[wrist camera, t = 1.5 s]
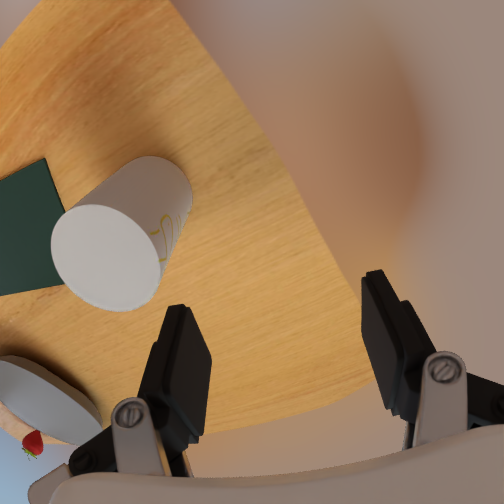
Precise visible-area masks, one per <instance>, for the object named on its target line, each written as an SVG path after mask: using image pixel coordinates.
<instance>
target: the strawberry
mask: <svg viewBox="0 0 504 504" xmlns="http://www.w3.org/2000/svg"><path fill="white" fill-rule="evenodd" d="M22 445H23V447H24V448H25V449H26V450H25V449H24V448H22V449H23V450H24V451H26V453H28V454H30V455H31V456H33V457H35V456H36V455H39V454H41V453H42V451H43V441H42V438H41V435H40V431H39V430H35V431H33V432H31V433H29V434H28V435H26V436H25V438H24V439H23V441H22ZM34 455H35V456H34ZM35 458H36V457H35ZM36 459H37V458H36Z"/></svg>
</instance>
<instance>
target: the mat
mask: <svg viewBox="0 0 504 504" xmlns="http://www.w3.org/2000/svg"><path fill="white" fill-rule="evenodd" d="M64 214H65V210H64V208H63V205H62V203H61V200H60V198H59V195H58V193H57V190H56V187H55V185H54V182H53V179H52V177H51V174H50V171H49V168H48V165H47V162H46V159H45V158H44V159H42V160H39V161H37V162H35V163H33V164H31V165H29V166H27V167H25V168H23V169H22V170H20V171H18V172H16V173H14V174H12V175H10V176H8V177H7V178H5V179H3V180H1V181H0V296H3V295H8V294H14V293H19V292H24V291H30V290H35V289H40V288H46V287H51V286H56V285H62V284H65V283H64V281H63V280H62V278H61V277H60V275H59V273H58V271H57V269H56V267H55V264H54V261H53V258H52V253H51V237H52V233H53V230H54V227H55V225H56V223H57V222H58V220H59V219H60V218H61V216H62V215H64Z"/></svg>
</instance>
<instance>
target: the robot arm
mask: <svg viewBox="0 0 504 504" xmlns="http://www.w3.org/2000/svg"><path fill="white" fill-rule="evenodd" d="M361 284H362V320H361V332H362V338H363V341H364V344H365V347H366V350H367V353H368V356H369V359H370V362H371V365H372V368H373V371H374V374H375V377H376V380H377V383H378V387H379V390H380V393H381V396H382V399H383V403H384V406H385V408H386V409H391V412H392V415H393V416H396V415H400V418H401V419H403V420H405V421H406V429H405V435H404V441H403V447H402V451H400V452H397V453H393V454H389V455H386V456H381V457H378V458H374V459H369V460H365V461H361V462H356V463H352V464H346V465H341V466H336V467H330V468H324V469H319V470H312V471H304V472H298V473H289V474H279V475H268V476H254V477H236V478H234V477H233V478H194V475H193V473H192V470H191V467H190V464H189V461H188V458H187V455H186V452H185V449H187V448H188V444H196V443H198V441H199V436H202V435H203V433H204V426H205V417H206V408H207V399H208V390H209V382H210V374H211V365H212V359H211V354H210V352H209V350H208V348H207V345H206V343H205V341H204V339H203V336H202V334H201V332H200V329H199V327H198V325H197V322H196V320H195V318H194V315H193V313H192V311H191V309H190V307H186V306H185V305H184V304H179V305H172V306H169V307H168V309H167V312H166V315H165V318H164V321H163V324H162V327H161V331H160V334H159V337H158V340H157V341H156V342H154V343H153V345H152V348H151V351H150V355H149V358H148V361H147V364H146V368H145V371H144V374H143V378H142V381H141V384H140V388H139V391H138V395H137V397H130V398H126V399H124V400H122V401H121V402H119V403H118V404H117V405H116V406H115V408H114V409H113V411H112V414H111V425H110V426H109V427H107V428H106V429H105V430H103V431H102V432H100V433H99V434H97V435H96V436H95V437H93V438H92V439H90V440H89V441H87V442H86V443H84V444H83V445H81V446H80V447H79V448H77V449H76V450H75V451H74V452H73V453H72V455H71V456H70V459H69V464H68V465H66V464H65V463H63V464H62V465H60V466H59V467H57V468H56V469H54V470H53V471H51V472H50V473H48V474H47V475H45V476H43V477H42V478H40V479H39V480H37V481H35V482H34V483H33V484H32V485H31V486H30V488H29V490H28V500H29V503H30V504H504V385H501V384H498V383H495V382H493V381H490V380H487V379H484V378H481V377H478V376H476V375H473V374H470V373H467V372H466V366H465V363H464V361H463V360H462V358H460V357H459V356H458V355H457V354H455V353H452V352H448V351H439V352H437V351H436V349H435V347H434V345H433V343H432V342H431V340H430V338H429V336H428V334H427V332H426V330H425V328H424V326H423V325H422V323H421V321H420V319H419V318H418V316H417V314H416V312H415V310H414V308H413V307H412V305H411V303H410V302H409V301H408V300H405V301H401V302H400V301H399V299H398V297H397V295H396V293H395V292H394V290H393V288H392V286H391V284H390V283H389V281H388V279H387V277H386V276H385V274H384V272H383V271H382V270H381V269H380V270H375V271H370V272H367V273H366V277H362V280H361Z"/></svg>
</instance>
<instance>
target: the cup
mask: <svg viewBox="0 0 504 504" xmlns="http://www.w3.org/2000/svg"><path fill="white" fill-rule="evenodd" d="M192 198H193V197H192V190H191V186H190V183H189V181H188V179H187V177H186V176H185V174H184V173H183V172H182V170H181V169H180V168H179V167H177V166H176V165H175V164H174V163H172V162H170V161H169V160H166V159H164V158H161V157H156V156H144V157H139V158H136V159H134V160H132V161H130V162H129V163H127V164H126V165H125V166H123V167H122V168H121V169H119V170H118V171H117V172H115V173H114V174H113V175H111V176H110V177H109V178H107V179H106V180H105V181H103V182H102V183H101V184H100V185H98V186H97V187H96V188H95V189H93V190H92V191H91V192H90V193H88V194H87V195H86V196H85V197H84V198H82V199H81V200H80V201H79V202H78V203H76V204H75V205H74V206H73V207H72V208H70V209H69V210H68V211H67V212H66V213H65V214H64V215H62V216H61V218H60V219H59V220H58V222H57V223H56V225H55V227H54V230H53V233H52V237H51V253H52V258H53V261H54V264H55V267H56V269H57V271H58V273H59V275H60V277H61V278H62V280H63V281H64V283H65V284H66V285H67V286H68V287H69V289H70V290H71V291H72V292H74V293H75V294H76V295H77V296H78V297H80V298H81V299H82V300H84V301H85V302H87V303H89V304H91V305H93V306H95V307H98V308H101V309H104V310H108V311H115V312H124V311H130V310H134V309H137V308H139V307H141V306H143V305H144V304H146V303H147V302H148V301H149V300H150V299H151V298H152V297H153V296H154V294H155V293H156V291H157V288H158V286H159V283H160V281H161V278H162V276H163V274H164V271H165V269H166V266H167V264H168V262H169V259H170V257H171V254H172V252H173V250H174V247H175V245H176V243H177V240H178V238H179V236H180V234H181V231H182V229H183V227H184V224H185V222H186V220H187V218H188V215H189V213H190V211H191V207H192Z"/></svg>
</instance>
